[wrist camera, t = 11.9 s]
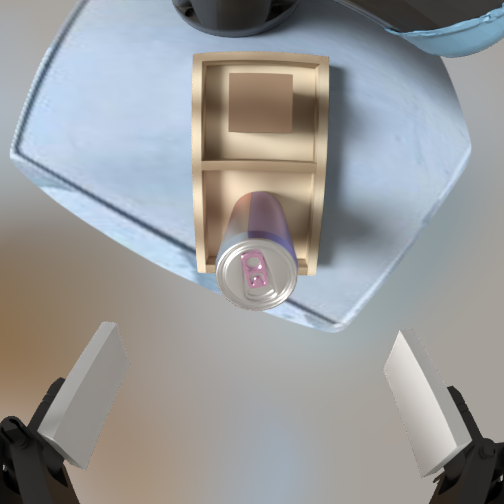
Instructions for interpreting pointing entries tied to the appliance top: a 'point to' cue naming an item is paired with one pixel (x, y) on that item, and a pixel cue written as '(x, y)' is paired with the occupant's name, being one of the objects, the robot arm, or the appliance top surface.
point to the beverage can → (257, 254)
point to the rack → (259, 151)
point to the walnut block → (260, 102)
